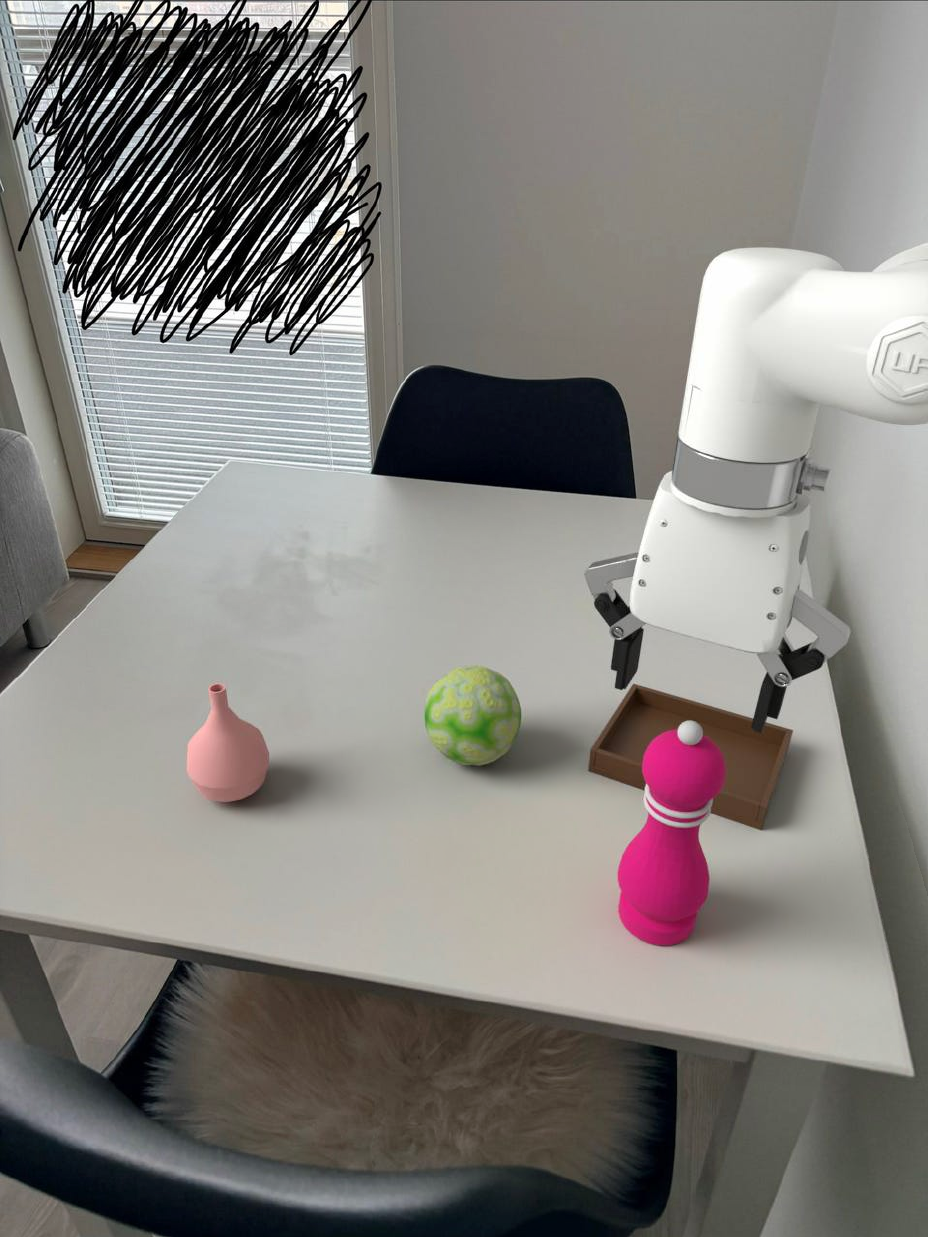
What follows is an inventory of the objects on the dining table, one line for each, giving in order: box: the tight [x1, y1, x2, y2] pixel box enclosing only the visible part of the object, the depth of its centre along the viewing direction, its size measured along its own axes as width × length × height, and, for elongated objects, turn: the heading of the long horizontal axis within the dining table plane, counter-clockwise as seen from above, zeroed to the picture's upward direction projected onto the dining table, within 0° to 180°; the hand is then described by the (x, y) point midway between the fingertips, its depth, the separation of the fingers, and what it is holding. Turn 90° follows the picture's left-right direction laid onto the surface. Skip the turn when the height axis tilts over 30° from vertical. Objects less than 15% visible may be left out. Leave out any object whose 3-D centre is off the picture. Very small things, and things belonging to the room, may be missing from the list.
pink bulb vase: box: [185, 682, 270, 803], centre depth 82 cm, size 8×8×12 cm
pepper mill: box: [617, 721, 726, 946], centre depth 68 cm, size 7×7×20 cm
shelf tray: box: [587, 683, 794, 831], centre depth 89 cm, size 17×13×3 cm
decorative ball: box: [424, 665, 522, 766], centre depth 88 cm, size 10×10×10 cm
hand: (691, 700), depth 62 cm, fingers open, 9 cm apart
